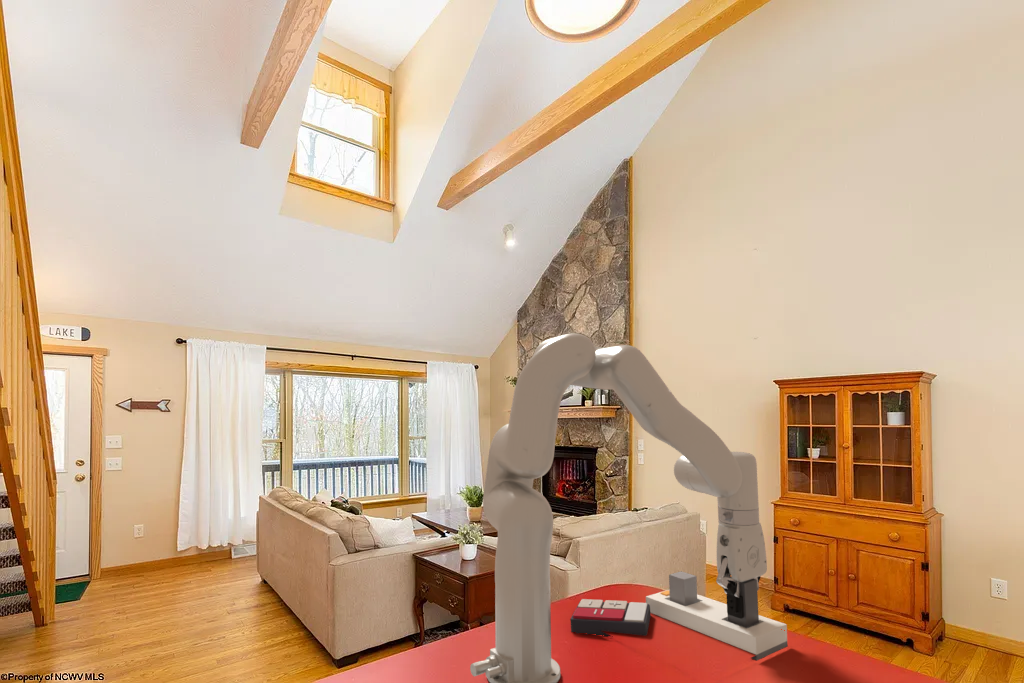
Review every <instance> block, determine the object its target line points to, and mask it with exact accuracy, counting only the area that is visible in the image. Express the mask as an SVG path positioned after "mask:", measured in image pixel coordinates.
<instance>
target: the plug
mask: <svg viewBox="0 0 1024 683" xmlns="http://www.w3.org/2000/svg"><path fill="white" fill-rule="evenodd" d="M731 583H732V584H733V586H734V587H735V582H733V581H731ZM740 596H742V597H743V613H744V617H743V618H742V619H740V618H737V617H734V616H731V615H729V614H728V621H729V622H732V623H735V624H738V625H740V626H743V627H746V628H747V627H749V626H752V625H754V624H757V623H759V616H758V615H759V601H758V600H759V599H758V598H759V597H758V591H757V580H756V579H750V580H747V581H744V582H741V594H740Z"/></svg>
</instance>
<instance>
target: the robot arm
mask: <svg viewBox="0 0 1024 683" xmlns="http://www.w3.org/2000/svg"><path fill="white" fill-rule="evenodd" d="M570 385H571V386H575V387H582V388H588V389H597V390H613V391H614V393H615V394H616V396H617V397H618V398H619V400H620V401H621V402H622V403H623V405H624V406H625V407H626V409H627V410H628V411H629V413H630V414H631V415H632V417H633V418H634V419H635V421H636V422H637V424H638V425H639V427H641V429H643V430H644V431H645V432H646V433H648V434H649V435H650V436H652V437H653V438H654V439H657V440H659V441H661V442H663V443H664V444H667V445H668V446H669V447H671V448H673V449H675V450H676V451H677V452H678V453H680V454H681V456H679V457H678V458H677V460H676V461H675V463H674V465H673V466H674V467H673V475H674V476H675V479H676V481H677V482H678V484H679V485H681V486H682V487H683V488H686V489H687V490H689V491H693V492H697V493H701V494H706V495H710V496H712V497H717V499H716V501H717V518H718V519H717V520H718V526H717V534H716V536H717V537H716V569H717V576H716V581H715V582H716V583H717V584H718V585H719V586H720V587H721V588H722V590H723V591H724V594H726V604H727V613H728V614H729V615H731V616H734V617H737V618H740V619H742V618H743V617H744V613H743V597H742V596H740V594H741V582H744V581H747V580H750V579H756V580H757V592H758V591H759V589H760V584H759V582H760V580H761V577H762V576H764V575H765V574H766V573H767V570H768V561H767V553H766V552H767V551H766V543H765V537H764V531H763V527H762V523H761V522H760V507H759V505H760V504H759V485H758V482H759V481H758V464H757V463H758V462H757V459H756V457H755V455H753V454H752V453H749V452H745V451H731V450H730V449H729V447H728V446H727V445H726V443H725V442H724V441H723V439H721V437H720V436H719V435H718V434H717V432H715V431H714V430H713V429H712V428H710V426H709V425H708V424H706V423H705V422H703V421H702V420H701V419H700V418H698V417H697V415H695V414H694V413H693V412H692V411H691V410H689V409H688V408H686V407H685V406H684V405H682V403H681V402H680V401H679V400H678V399H677V398H676V397H675V395H674V394H673V392H672V391H671V390H670V388H669V387H668V385H667V384H666V383H665V382H664V381H663V378H662V377H661V376H660V375H659V373H658V372H657V370H656V369H655V368H654V366H653V365H652V364H651V362H650V361H649V360H648V358H647V357H646V356H645V354H644V353H643V352H642V351H641V350H640V349H639V348H637V347H635V346H633V345H628V344H619V345H614V346H608V347H599V346H595V344H594V342H593V341H592V339H591V338H589V337H588V336H586V335H584V334H582V333H576V332H575V333H574V332H571V333H566V334H562V335H558V336H555V337H551V338H549V339H546V340H544V341H541V343H539V345H538V346H537V347H536V348H535V350H534V352H533V355H532V356H531V357H530V359H528V361H527V362H526V364H525V365H524V367H523V368H522V370H521V371H520V374H519V376H518V378H517V380H516V383H515V387H514V391H513V395H512V396H513V397H512V402H511V408H510V414H509V419H508V420H509V421H508V423H506V424H505V425H503V426H501V427H500V428H499V429H498V430H497V431H496V432H495V433H494V435H493V438H492V440H491V442H490V446H489V450H488V455H487V456H488V457H487V465H486V472H485V480H484V488H483V496H482V498H483V499H482V503H483V504H482V507H483V508H482V509H483V514H484V516H485V517H486V519H487V521H488V523H489V524H490V525H491V526H492V528H494V529H495V530H496V531H497V543H496V544H497V545H496V550H495V557H494V558H495V561H494V583H495V584H494V585H495V588H494V594H495V595H494V598H495V600H494V603H495V605H494V609H495V614H494V616H495V620H494V621H495V623H494V625H495V628H494V629H495V647H493V648H490V649H489V656H487V657H486V658H485V659H484V660H479V661H475V662H473V663H471V664H470V668H469V669H470V674H471V675H472V676H473V677H477V676H480V675H483V674H485V677H486V678H487V680H488V682H489V683H558V682H559V681H560V679H561V667H560V665H559V663H558V662H557V661H556V660H555V659H553V658H552V636H551V635H552V632H551V631H552V630H551V629H552V623H551V620H552V619H551V618H552V617H551V616H552V615H551V614H552V613H551V548H552V547H551V546H552V539H553V532H554V514H553V511H552V507H551V505H550V503H549V501H548V500H547V498H546V497H545V496H544V495H543V494H542V493H541V492H539V491H538V490H536V489H535V488H533V487H534V480H536V479H539V478H541V477H543V476H545V475H546V474H547V473H548V472H549V471H550V469H551V468H552V465H553V462H554V458H555V447H556V437H557V428H558V418H559V413H560V407H561V402H562V398H563V396H564V395H565V392H566V391H567V389H568V388H569V387H570ZM731 581H733V582H735V587H734V586H733V584H732V583H731Z"/></svg>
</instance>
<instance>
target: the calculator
mask: <svg viewBox="0 0 1024 683" xmlns="http://www.w3.org/2000/svg"><path fill="white" fill-rule="evenodd" d="M578 602H579V603H578V604H577V606H576V608H575V610H574V611H573V614H572V615H571V617H570V632H571V633H572V632H576V633H575V634H579V633H587V634H586V635H588V634H596V635H595V636H597V635H602V636H601V637H608V636H612V637H611V638H614V636H613V635H611V634H608V633H607V632H609V633H617V634H626V635H627V634H628V635H635V636H643V637H644V636H648V633H649V632H648V631H649V628H650V627H649V626H650V622H651V614H652V613H650V605H649V604H647V603H646V602H635V601H631V602H628V601H627V600H616V599H615V600H611V599H608V600H607V599H606V600H603V599H590V598H589V599H587V598H581V600H580V601H578ZM603 635H604V636H603Z"/></svg>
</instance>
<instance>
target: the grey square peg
mask: <svg viewBox="0 0 1024 683" xmlns="http://www.w3.org/2000/svg"><path fill="white" fill-rule="evenodd" d="M697 580H698V578H697V575H694V574H690V573H688V572H685V571H678V572H674V573H671V574H669V575H668V587H669V589H668V590H669V592H670V601H672V602H675V603H678V604H680V605H683V606H688V605H691V604H694V603H697V594H698V583H697Z"/></svg>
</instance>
